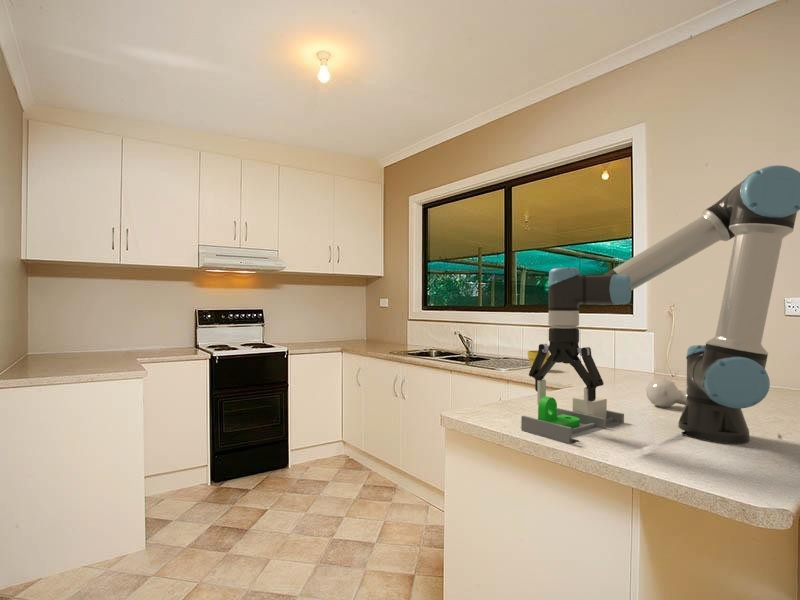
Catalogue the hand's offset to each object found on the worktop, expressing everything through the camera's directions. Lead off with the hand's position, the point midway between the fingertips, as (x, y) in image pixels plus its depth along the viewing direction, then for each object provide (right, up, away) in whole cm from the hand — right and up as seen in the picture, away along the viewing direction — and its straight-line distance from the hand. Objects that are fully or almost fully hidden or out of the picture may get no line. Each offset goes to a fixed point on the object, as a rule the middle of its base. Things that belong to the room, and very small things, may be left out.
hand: (563, 408), depth 118 cm
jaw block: (+10, -5, +8) cm, 14 cm away
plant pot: (+26, -7, +108) cm, 111 cm away
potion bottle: (+46, -7, +30) cm, 56 cm away
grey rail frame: (+4, -6, +3) cm, 8 cm away
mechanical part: (-1, -5, 0) cm, 5 cm away
